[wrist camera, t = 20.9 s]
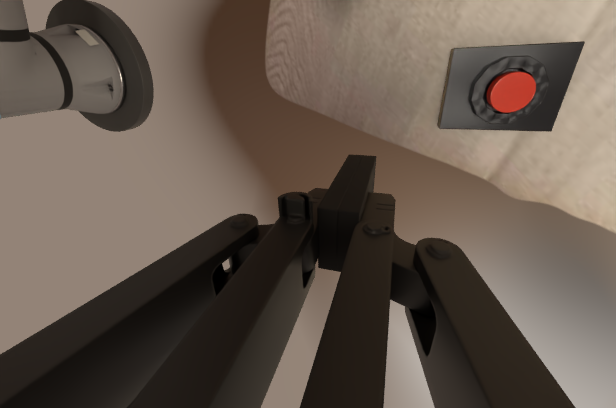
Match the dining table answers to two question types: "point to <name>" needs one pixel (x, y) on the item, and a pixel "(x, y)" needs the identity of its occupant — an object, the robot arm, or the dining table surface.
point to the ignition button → (511, 91)
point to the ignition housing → (494, 62)
